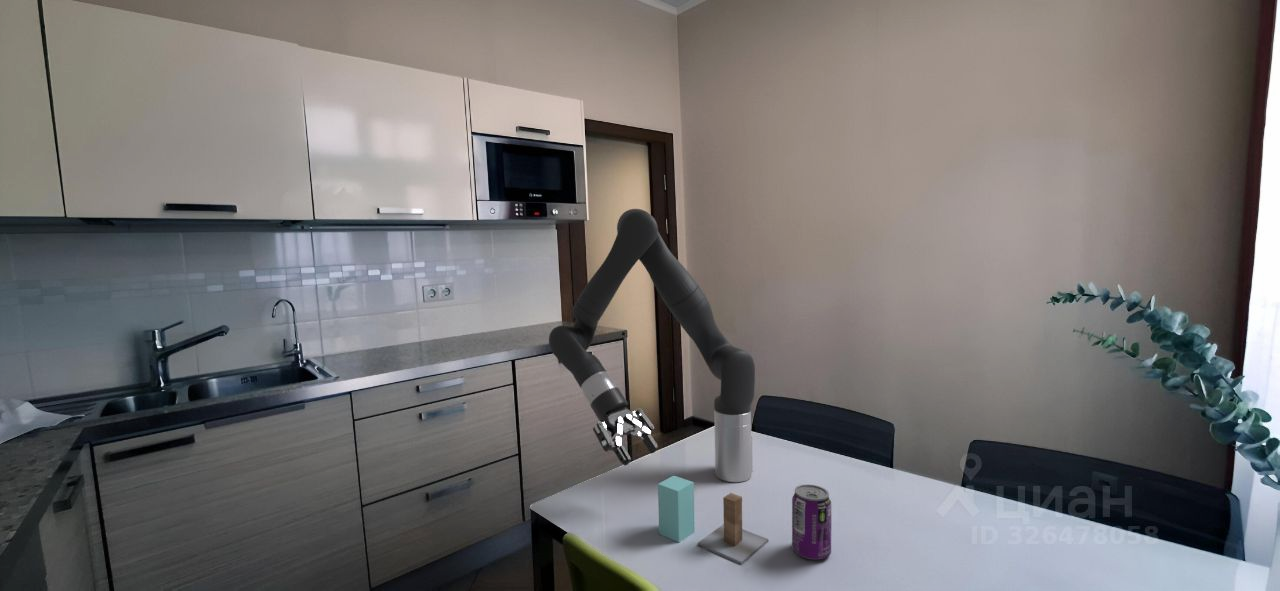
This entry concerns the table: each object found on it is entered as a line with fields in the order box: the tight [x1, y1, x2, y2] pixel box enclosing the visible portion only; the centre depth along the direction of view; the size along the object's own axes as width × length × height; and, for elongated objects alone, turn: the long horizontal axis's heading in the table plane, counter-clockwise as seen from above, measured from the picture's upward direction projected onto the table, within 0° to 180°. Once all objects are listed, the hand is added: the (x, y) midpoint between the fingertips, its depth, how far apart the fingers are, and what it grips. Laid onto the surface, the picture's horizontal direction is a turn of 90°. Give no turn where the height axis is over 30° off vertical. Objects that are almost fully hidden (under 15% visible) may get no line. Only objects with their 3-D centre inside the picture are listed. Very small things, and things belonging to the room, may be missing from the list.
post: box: [697, 492, 769, 565], centre depth 103 cm, size 10×10×10 cm
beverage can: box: [791, 484, 832, 561], centre depth 100 cm, size 7×7×12 cm
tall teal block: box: [657, 475, 696, 543], centre depth 108 cm, size 5×5×11 cm
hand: (642, 457), depth 113 cm, fingers open, 8 cm apart
